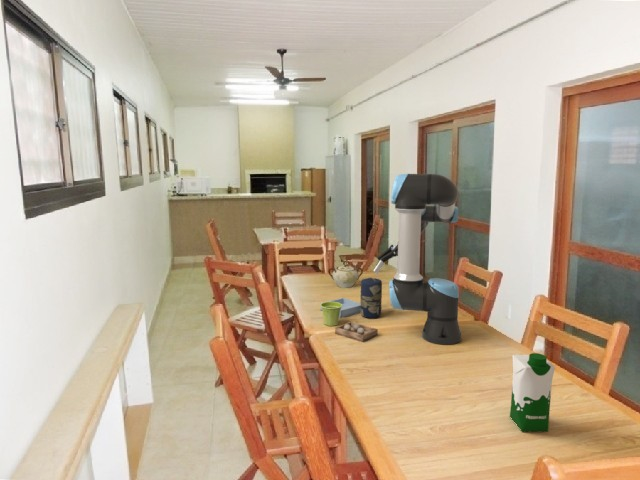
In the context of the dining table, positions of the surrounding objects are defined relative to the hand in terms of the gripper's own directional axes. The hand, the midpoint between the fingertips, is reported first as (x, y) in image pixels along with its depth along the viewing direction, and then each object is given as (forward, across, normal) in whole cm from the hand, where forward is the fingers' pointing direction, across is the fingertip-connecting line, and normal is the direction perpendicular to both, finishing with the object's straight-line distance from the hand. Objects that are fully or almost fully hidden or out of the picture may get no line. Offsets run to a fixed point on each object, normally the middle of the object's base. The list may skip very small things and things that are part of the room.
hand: (385, 275), depth 213 cm
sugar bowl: (+1, +47, -24) cm, 53 cm away
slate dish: (+23, +13, -2) cm, 27 cm away
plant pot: (+34, +2, +9) cm, 35 cm away
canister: (+19, 0, -6) cm, 20 cm away
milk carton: (+40, -90, +15) cm, 100 cm away
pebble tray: (+34, -14, +9) cm, 38 cm away
